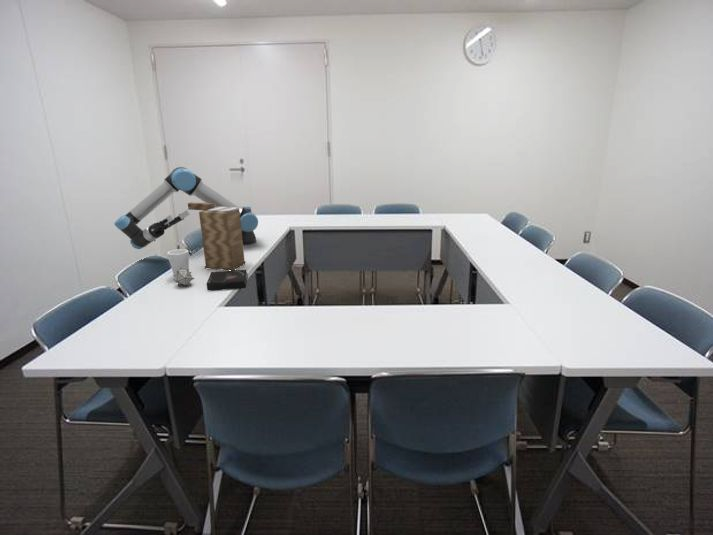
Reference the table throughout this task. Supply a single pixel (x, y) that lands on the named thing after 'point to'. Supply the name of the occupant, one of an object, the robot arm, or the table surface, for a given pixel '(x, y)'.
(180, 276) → the grey spiky ball
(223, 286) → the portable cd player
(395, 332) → the table surface
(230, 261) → the brown patterned box
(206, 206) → the turner
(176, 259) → the foam cup
